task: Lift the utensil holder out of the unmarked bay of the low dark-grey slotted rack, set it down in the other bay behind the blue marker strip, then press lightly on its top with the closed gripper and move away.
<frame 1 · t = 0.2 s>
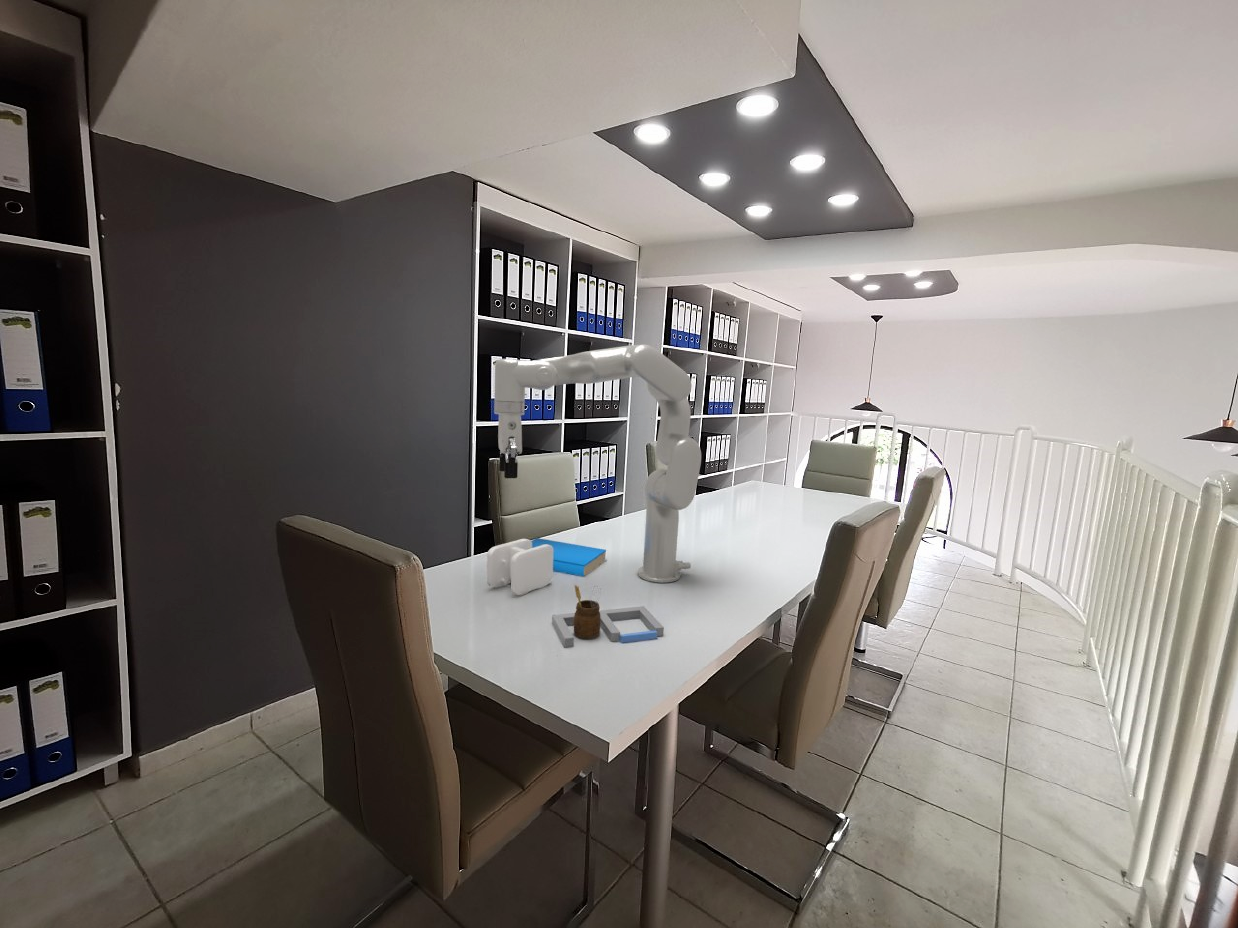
hand: (508, 474, 144), 31 cm above the table, tool pointing down, fingers open, 9 cm apart
book: (558, 563, 172), on the table
utensil holder: (586, 634, 125), on the table
slotted rack: (606, 629, 128), on the table
cable organizer: (519, 587, 151), on the table
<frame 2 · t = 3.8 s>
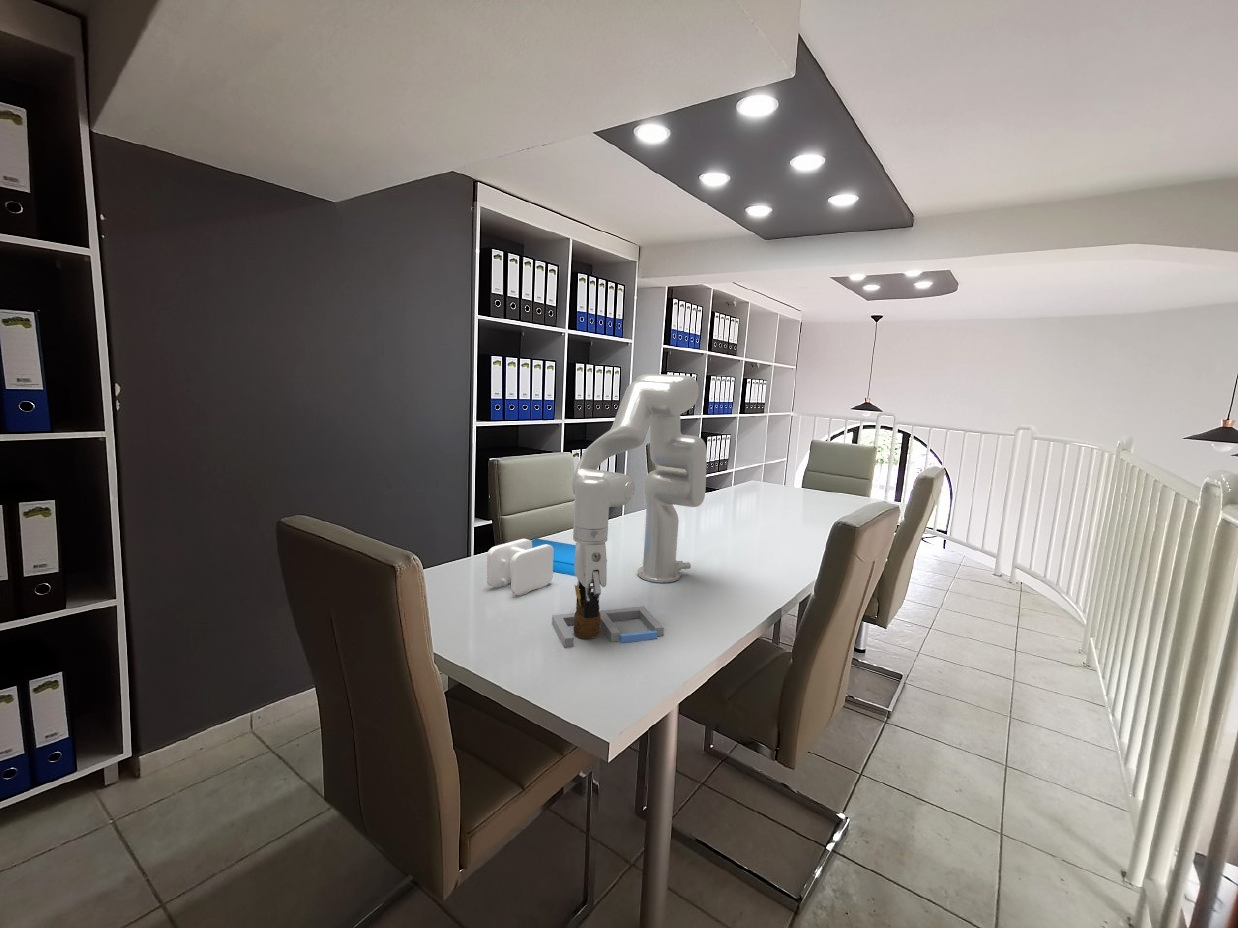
hand: (587, 610, 124), 5 cm above the table, tool pointing down, fingers closed on utensil holder, 5 cm apart
utensil holder: (586, 634, 125), on the table, touching gripper
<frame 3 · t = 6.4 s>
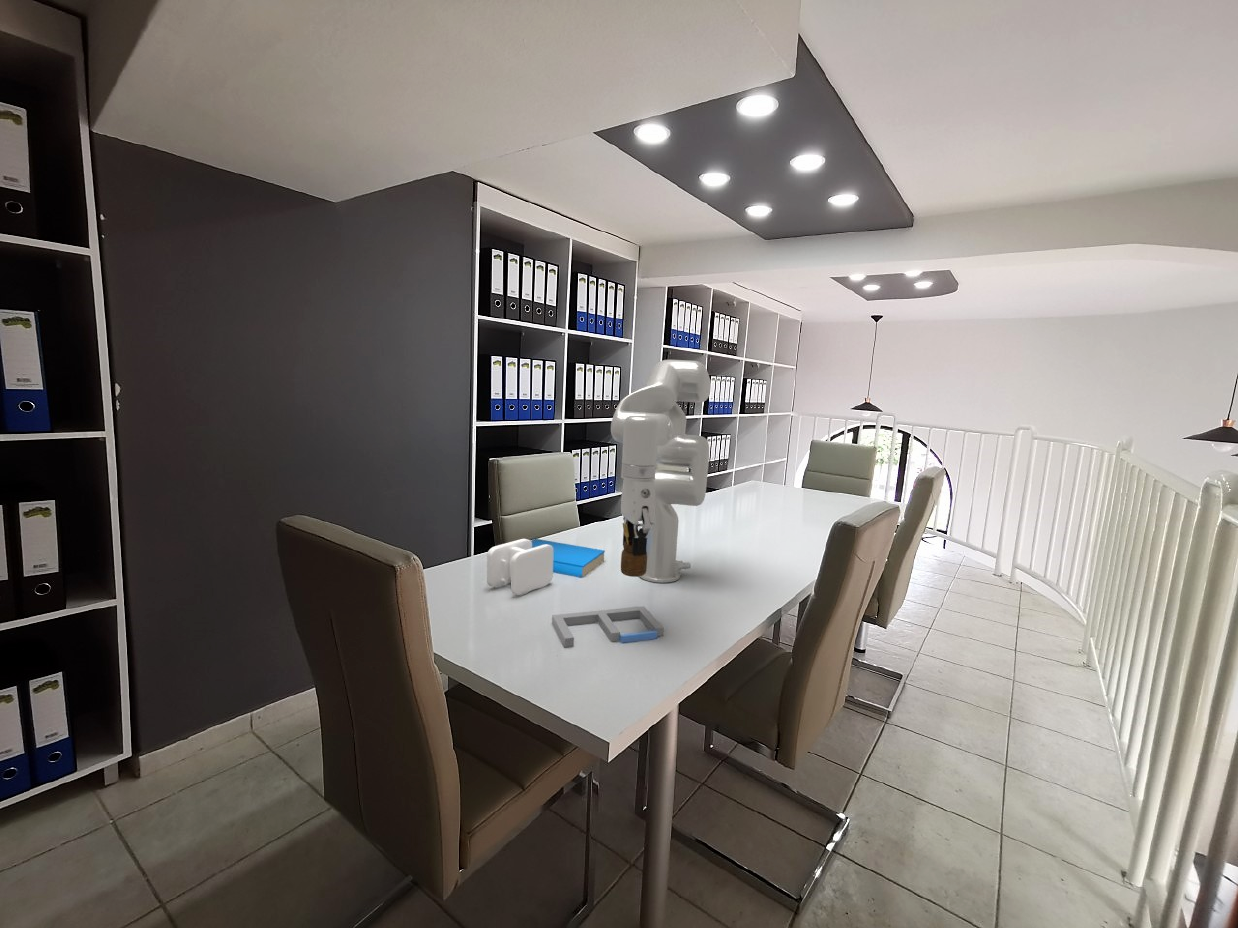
hand: (634, 549, 126), 19 cm above the table, tool pointing down, fingers closed on utensil holder, 5 cm apart
utensil holder: (632, 573, 127), point 13 cm above the table, touching gripper
when the fingers open (7 cm above the table, at t = 9.0 s): utensil holder drops 1 cm, on the table.
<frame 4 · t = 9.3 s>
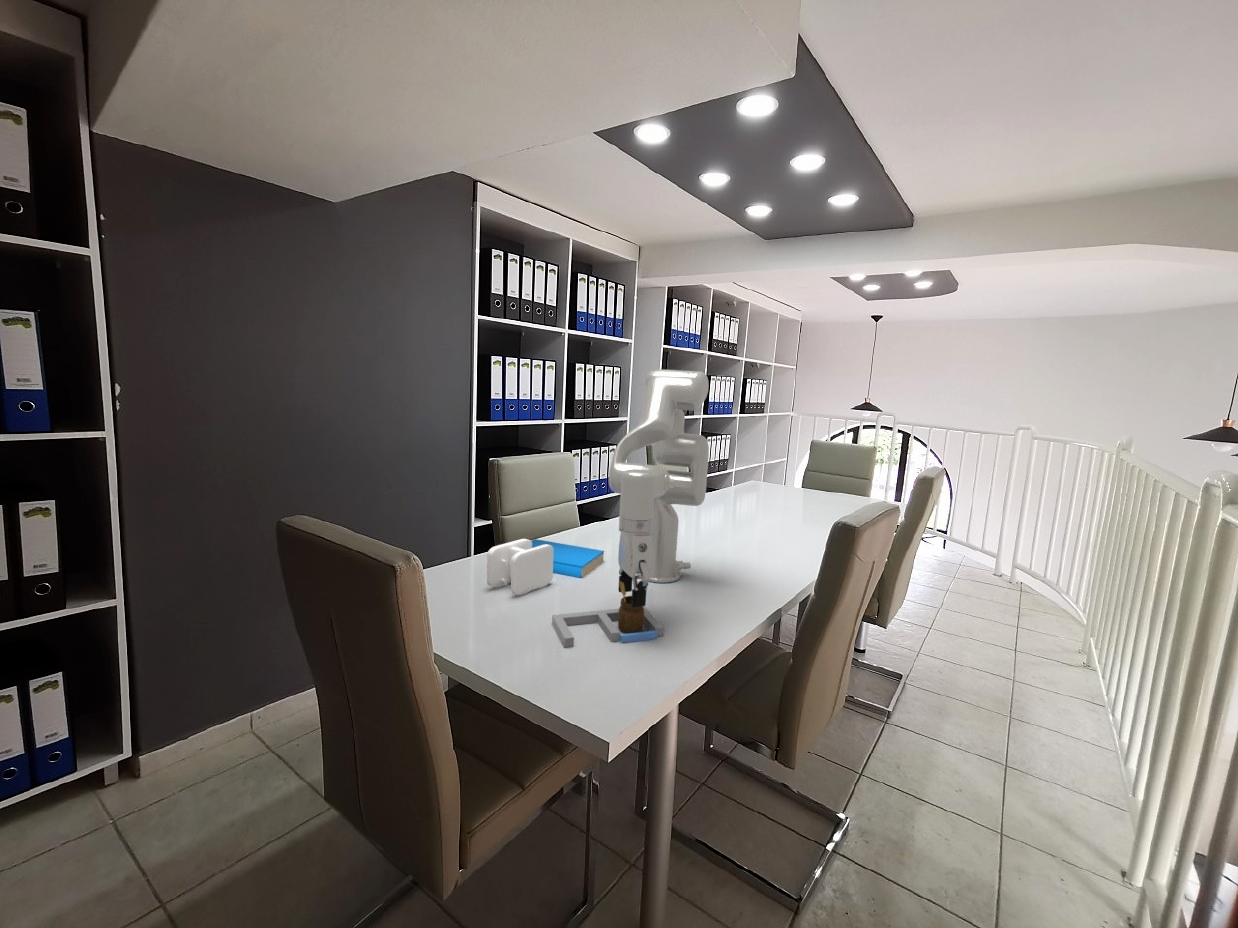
hand: (631, 598, 127), 7 cm above the table, tool pointing down, fingers open, 8 cm apart
utensil holder: (630, 629, 129), on the table
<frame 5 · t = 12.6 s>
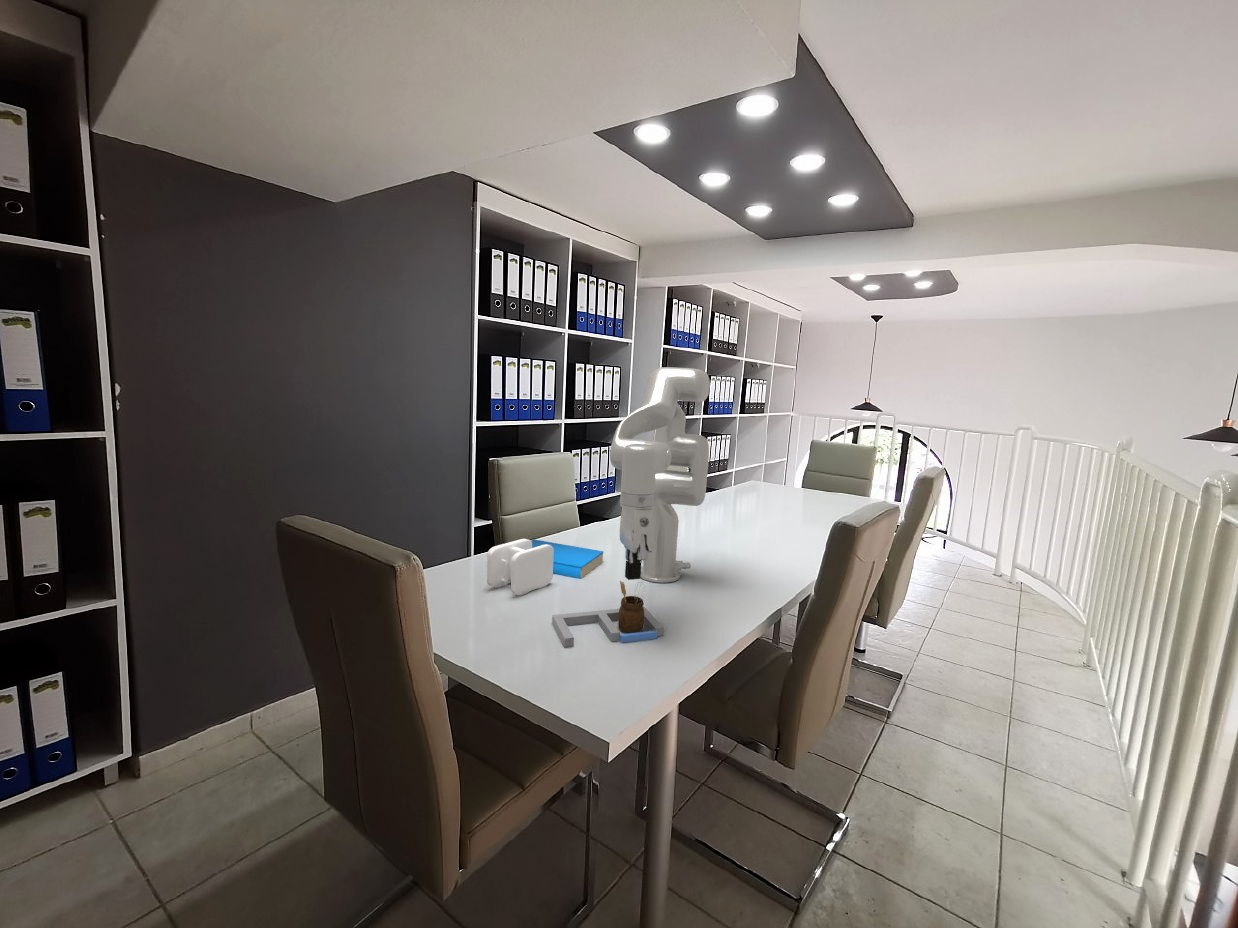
hand: (632, 577, 127), 12 cm above the table, tool pointing down, fingers closed
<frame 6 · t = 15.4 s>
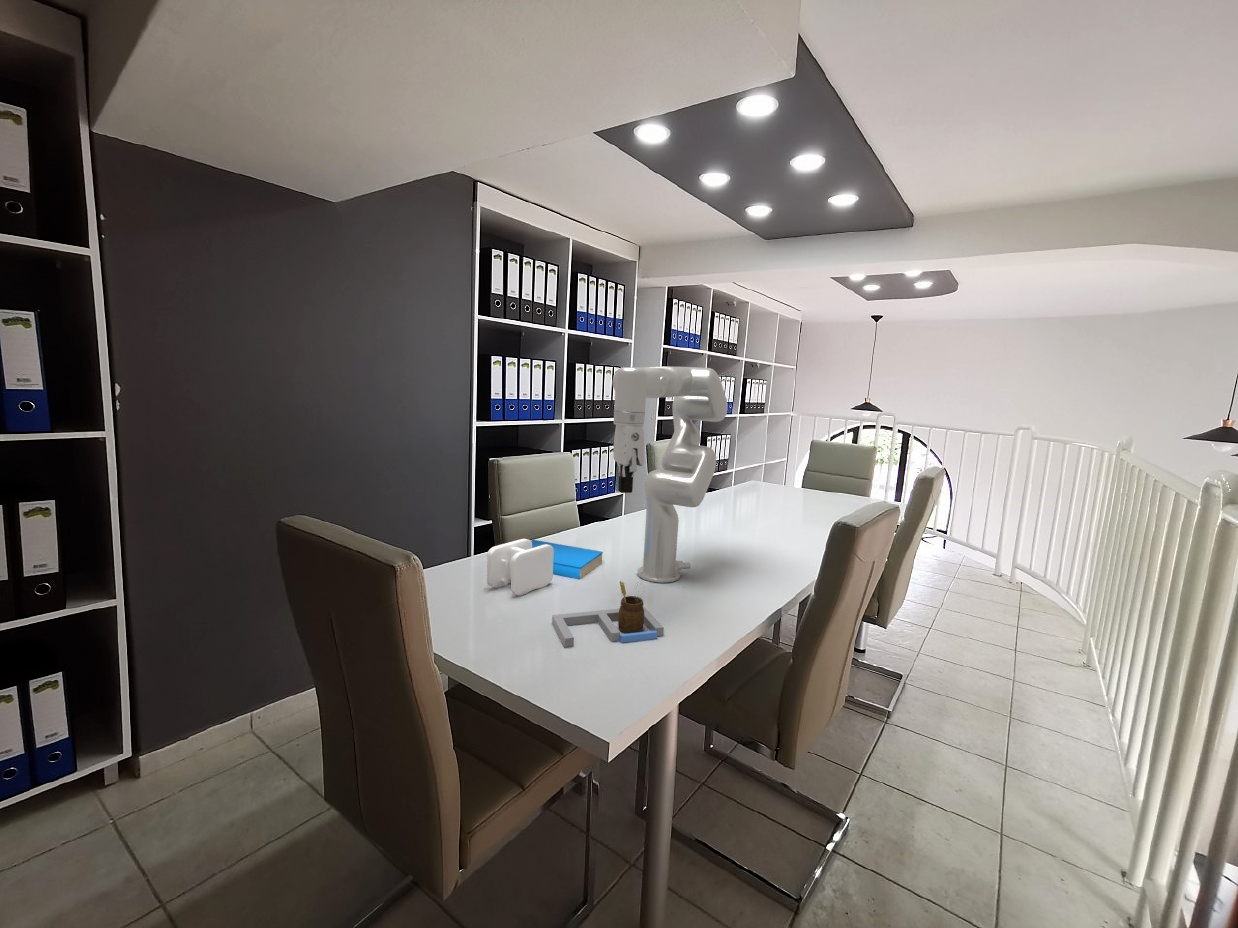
hand: (625, 491, 139), 29 cm above the table, tool pointing down, fingers closed
at the end: utensil holder inside the target area on the slotted rack (0.8 cm from its centre), point 0.0 cm above the slotted rack's base; utensil holder tilted 0°; the gripper is holding nothing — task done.
